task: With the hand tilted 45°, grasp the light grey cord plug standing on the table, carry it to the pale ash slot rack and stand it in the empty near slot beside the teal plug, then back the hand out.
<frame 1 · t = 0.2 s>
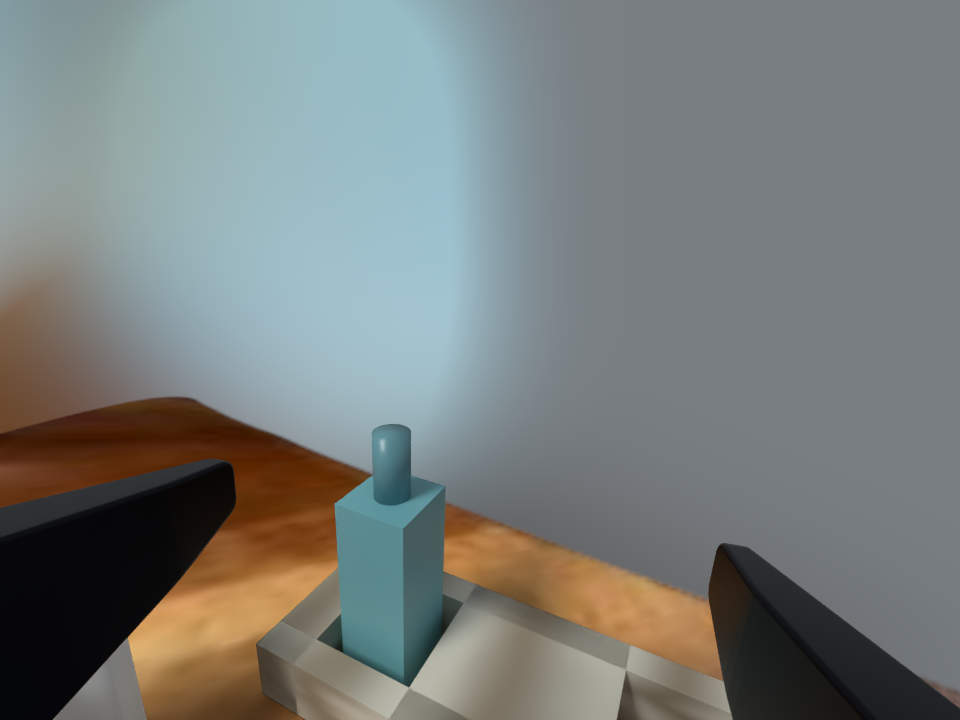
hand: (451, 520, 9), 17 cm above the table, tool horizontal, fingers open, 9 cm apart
teal plug: (394, 667, 24), resting in slot rack
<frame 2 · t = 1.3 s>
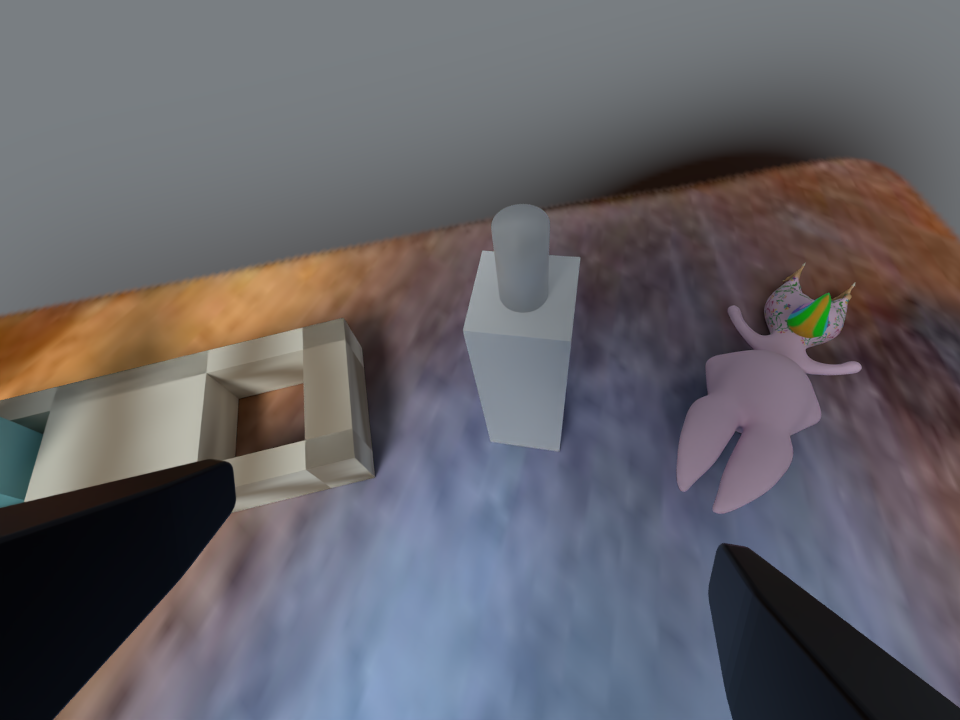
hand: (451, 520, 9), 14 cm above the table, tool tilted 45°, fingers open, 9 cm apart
slot rack: (282, 428, 25), on the table
grey plug: (529, 415, 24), on the table
pink horned figurine: (751, 395, 24), on the table
teal plug: (42, 487, 25), resting in slot rack
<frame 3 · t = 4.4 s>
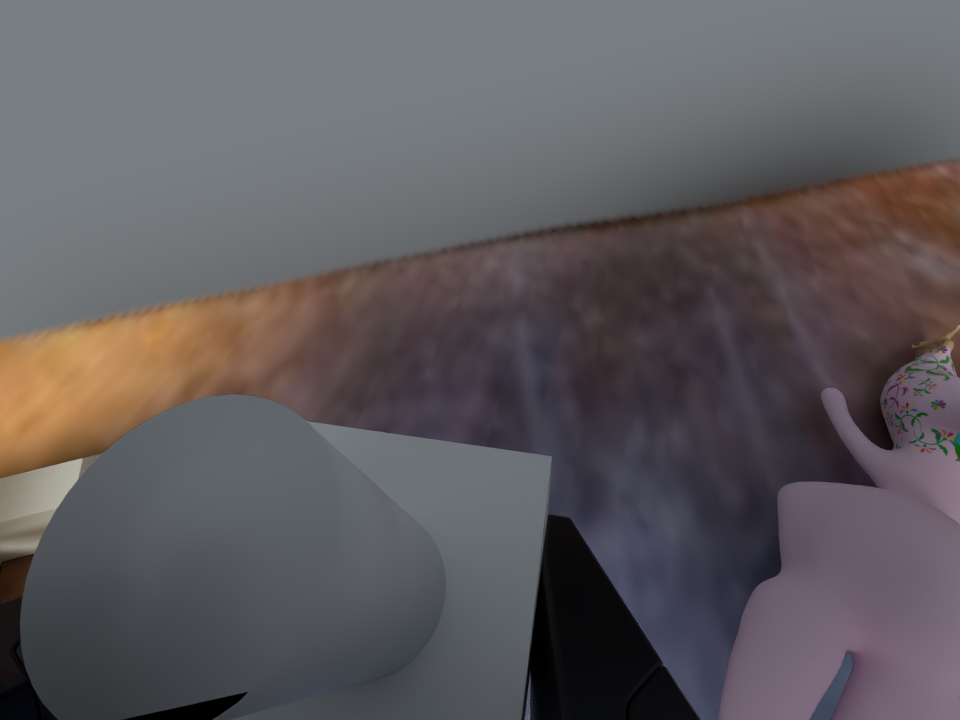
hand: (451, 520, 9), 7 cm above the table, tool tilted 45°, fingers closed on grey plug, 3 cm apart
slot rack: (56, 626, 15), on the table
grey plug: (478, 617, 14), on the table, touching gripper
pink horned figurine: (851, 548, 14), on the table
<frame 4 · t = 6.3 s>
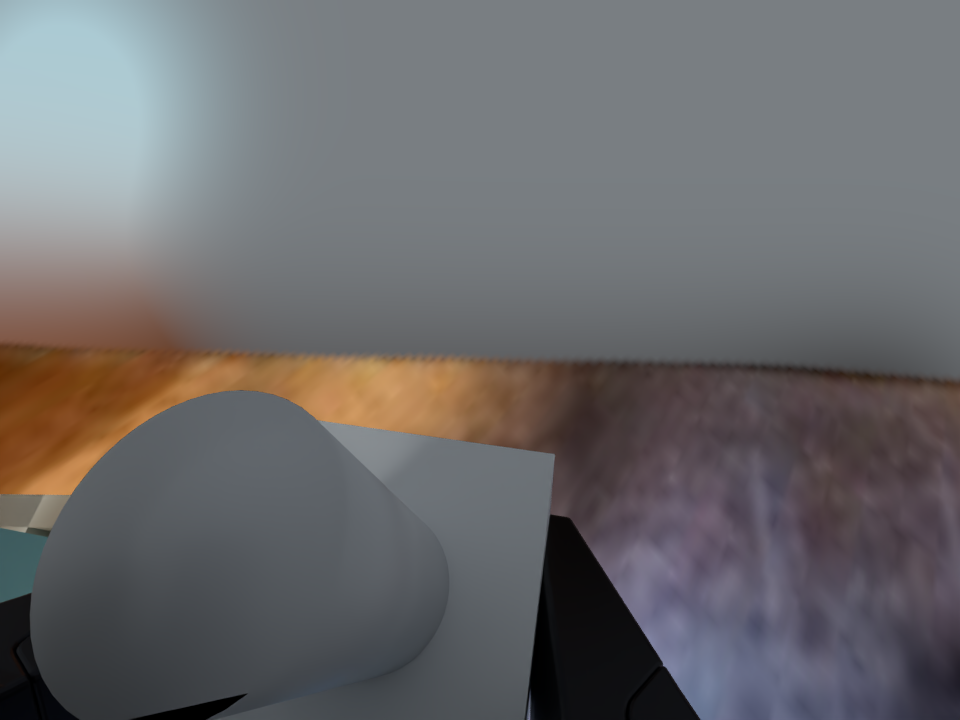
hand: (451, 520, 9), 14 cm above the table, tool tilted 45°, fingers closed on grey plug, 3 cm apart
slot rack: (384, 607, 20), on the table
grey plug: (479, 616, 14), point 7 cm above the table, touching gripper
teal plug: (109, 597, 22), resting in slot rack
when the fingers open (8 cm above the table, at t = 8.4 s): grey plug stays where it is, resting in slot rack.
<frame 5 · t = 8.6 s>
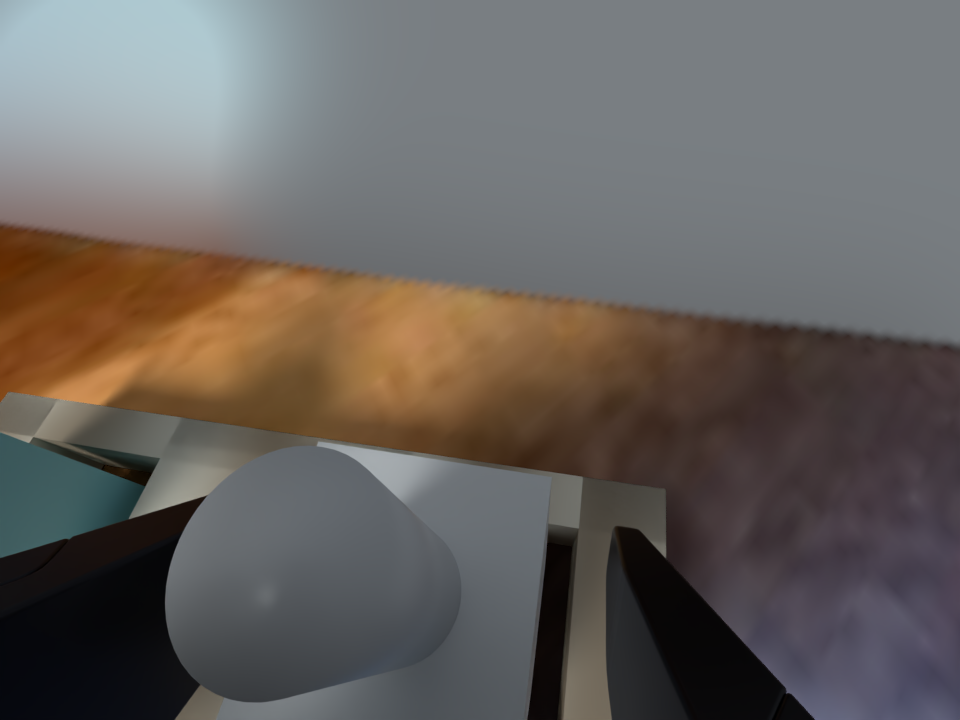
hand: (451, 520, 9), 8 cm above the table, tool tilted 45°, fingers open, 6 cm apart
slot rack: (481, 618, 14), on the table
grey plug: (482, 616, 14), resting in slot rack
teal plug: (123, 542, 17), resting in slot rack
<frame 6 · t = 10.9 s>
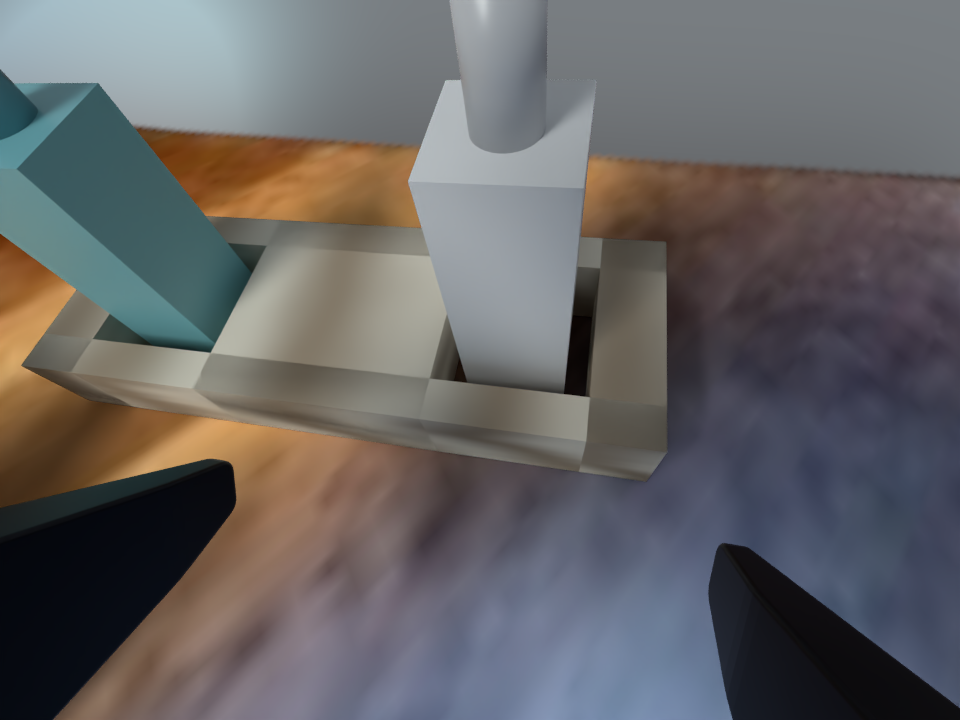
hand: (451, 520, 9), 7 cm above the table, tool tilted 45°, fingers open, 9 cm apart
slot rack: (521, 364, 18), on the table
grey plug: (522, 363, 18), resting in slot rack
teal plug: (228, 333, 21), resting in slot rack
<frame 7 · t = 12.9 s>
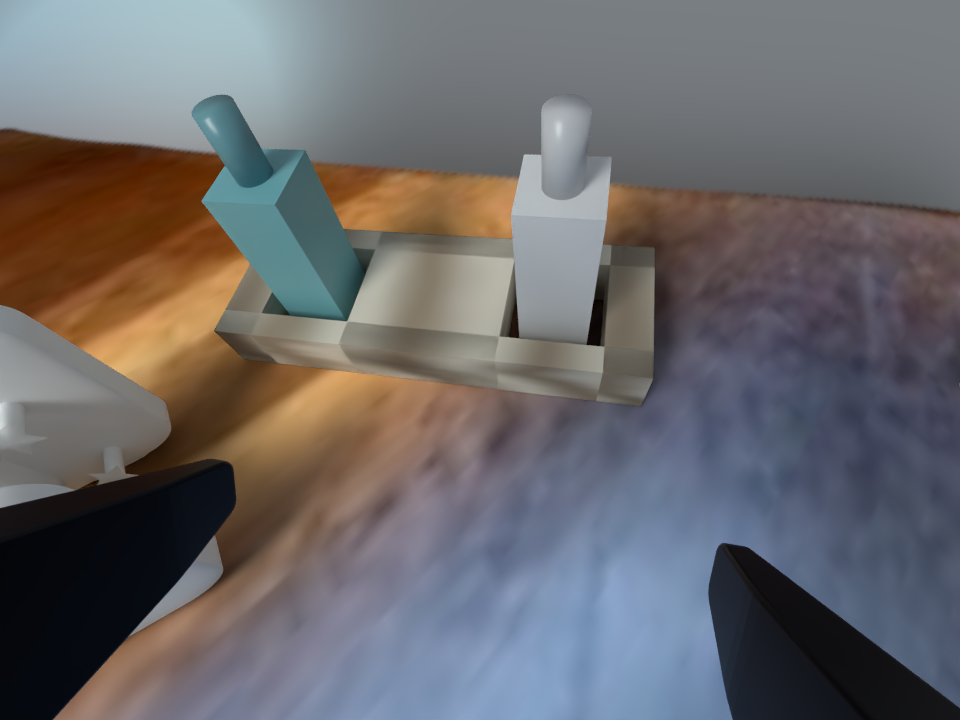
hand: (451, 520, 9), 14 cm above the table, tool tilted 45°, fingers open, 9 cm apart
cable organizer: (80, 566, 23), on the table
slot rack: (554, 332, 26), on the table
grey plug: (555, 331, 26), resting in slot rack
teal plug: (339, 312, 29), resting in slot rack
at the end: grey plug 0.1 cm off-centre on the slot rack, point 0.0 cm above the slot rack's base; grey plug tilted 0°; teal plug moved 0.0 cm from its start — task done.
